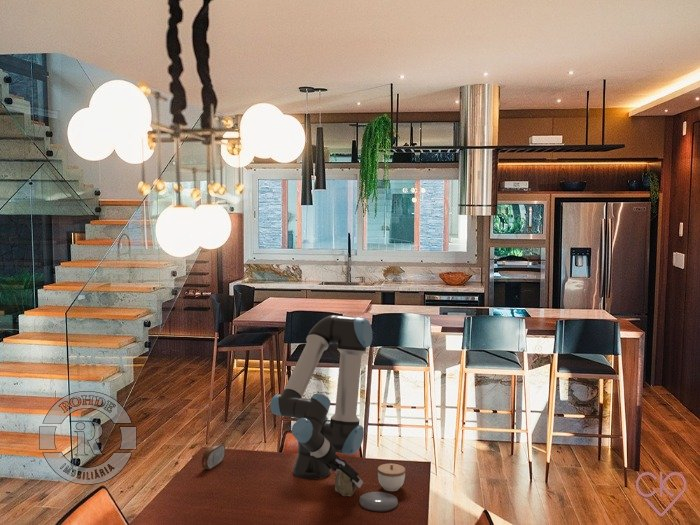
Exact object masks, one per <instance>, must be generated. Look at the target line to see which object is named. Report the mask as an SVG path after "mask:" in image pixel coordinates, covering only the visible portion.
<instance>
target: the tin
mask: <svg viewBox="0 0 700 525" xmlns="http://www.w3.org/2000/svg"><path fill="white" fill-rule="evenodd" d="M225 456H226V446H225V444H223V443H220V442H216V443H215V444H214V445H212V446H210V447H207V449H205V451H204V452H203V455H202V458H201V467H202V469H205V470H212V469H213V468H215V467H217V466H218V465H220V464H221V463H222V462H223V461H224V458H225Z"/></svg>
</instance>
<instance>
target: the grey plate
mask: <svg viewBox="0 0 700 525" xmlns="http://www.w3.org/2000/svg"><path fill="white" fill-rule="evenodd" d="M398 501H399V500H398V498H397V496H395V495H394V494H391V493H388V492H383V491H371V492H366V493H363V494H361V495H360V497H359V501H358V502H359V505H360V506H361V507H362V508H364V509H365V510H368V511H373V512H388V511H392V510H394V509H396V507H397V506H398V504H399V502H398Z"/></svg>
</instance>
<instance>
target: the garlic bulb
mask: <svg viewBox="0 0 700 525" xmlns="http://www.w3.org/2000/svg"><path fill="white" fill-rule="evenodd" d="M334 485H335V487H334V490H335V492H336V493H339V494H340V495H341V496H342V497H352V496H353V495H354V493H355V492H356V490H357V488H358V487H357V486H356V485H355V484H354V483H353V482H352V481H350V478H349V477H348V476H347V475H346V474H345V473H343V472H342V471H341V470H340V471H339V472H338V473H337V474H336V475H335V478H334Z"/></svg>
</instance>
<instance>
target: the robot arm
mask: <svg viewBox="0 0 700 525" xmlns="http://www.w3.org/2000/svg"><path fill="white" fill-rule="evenodd" d="M305 341H306V344H305V346H304V347H303V350H302V352H301V354H300V356H299V358H298V360H297V362H296V364H295V367H294V368H293V370H292V372H291V375H290V377H289V379H288V381H287V382H286V384H285V388H284V390H282V393H281V394H280V393H279V394H274V396H272V398H271V400H270V406H269V407H270V411H271V413H272V414H273V415H277V416H280V417H285V418H286V417H287V418H293V419H297V420H296V421H295V423H293V425H292V427H291V434H292V435H293V437H294V439H295V440H296V441H297V457H296V460H295V462H294V465H293V469H292V470H293V472H292V473H293V475H294V476H295V477H298V478H301V479H305V480H318V479H323V478H326V477H328V476H330V474H331V471H332V472H334V473H335V474H336V475H337V473H338V472H339V471H340V470H341V471H342V472H343V473H345V474H346V475H347V476H348V477H349V478H350V481H352V482H353V483H354V484H355V485H356V486H357V487H356V488H358V489H360V488H361V487H362V485H363V483H364V481H363V480H362V479H361V478H360V477H359V473H358V472H357V471H356V470H355V469H354V468H352V466H350V465H349V464H348V463H347V462H346V460H345V459H341V458H340V456H338V453H339V454H343V455H351V456H352V455H354V454H356V453H357V452H358V451H359V449H360V448H361V446H362V444H363V440H364V436H365V429H364V426H363V425H361V424H360V419H359V417H358V415H357V412H358V411H357V410H358V400H359V391H360V390H359V389H360V388H359V387H360V377H361V369H362V368H361V367H362V365H361V364H362V356H363V355H364V353H366V351H367V348H369V347H370V346H371V345H372V342H373V329H372V325H371V323H370V321H369V320H368V319H367V318H366V317H365V318H364V317H359V316H349V315H348V316H347V315H346V316H345V315H338V314H337V315H335V314H332V315H328V316H326V317H324V318H322V319H320V320H319V321H318V322H317V323H316V324H314V325H313V327H312V328H311V329H310V330H309V332H308V334H307V336H306V338H305ZM332 344H333V345H336V346H337V349H336V350H337V351H338V352H339V356H340V357H339V366H338V375H337V376H338V377H337V388H336V398H335V399H336V400H335V409H334V410H335V411H334V414H333V415H332V416H330V420H328V413H329V411H330V406H331V400H330V398H329V397H328V396H326V395H325V394H323V393H318V392H317V393H314V394H313V395H312V396H311V397H310V398H304V397H303V396H304V394H305V392H306V390H307V387H308V385H309V383H310V382H311V379H312V376H313V374H314V373H315V370H316V368H317V366H318V364H319V363H320V360H321V358H322V356H323V354H324V351H326V350H328V349H329V347H330V345H332ZM336 453H337V454H336Z"/></svg>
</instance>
